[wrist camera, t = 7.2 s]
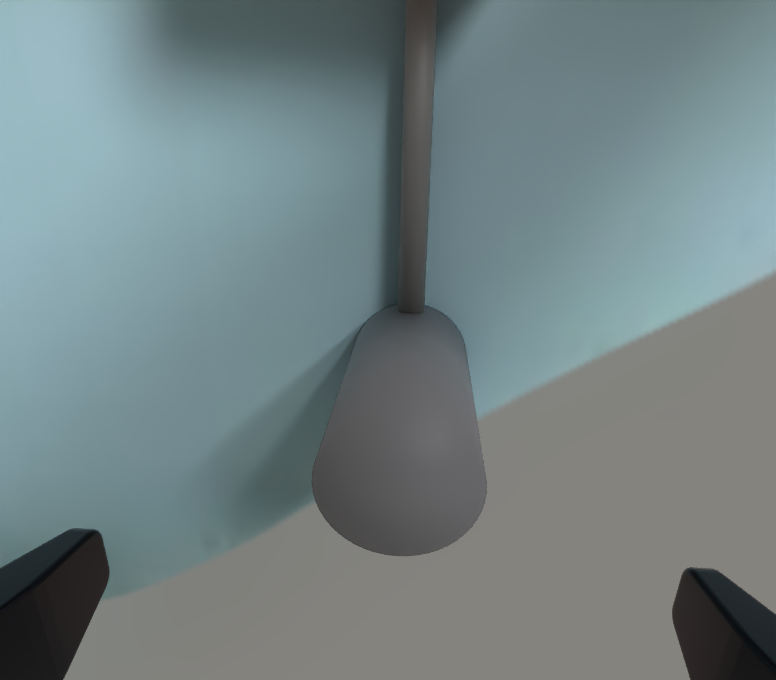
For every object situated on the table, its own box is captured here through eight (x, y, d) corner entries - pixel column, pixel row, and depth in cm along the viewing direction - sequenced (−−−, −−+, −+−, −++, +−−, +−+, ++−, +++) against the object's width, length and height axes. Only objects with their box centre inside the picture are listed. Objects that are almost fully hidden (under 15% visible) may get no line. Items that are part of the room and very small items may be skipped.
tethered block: (624, -581, 9) (946, -1744, 3) (510, 410, 16) (553, 566, 10) (266, -560, 9) (22, -1584, 4) (308, 400, 16) (244, 545, 11)
